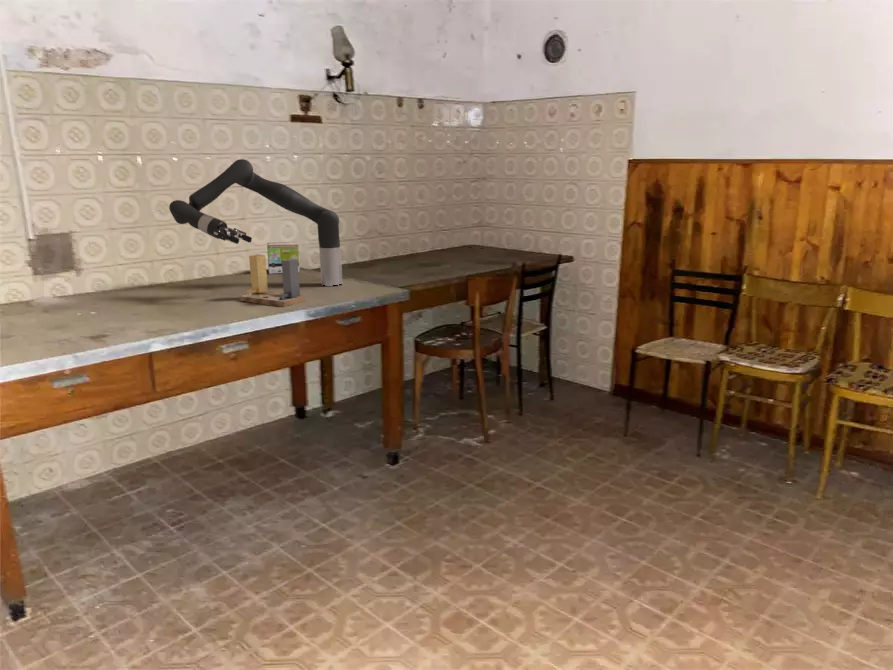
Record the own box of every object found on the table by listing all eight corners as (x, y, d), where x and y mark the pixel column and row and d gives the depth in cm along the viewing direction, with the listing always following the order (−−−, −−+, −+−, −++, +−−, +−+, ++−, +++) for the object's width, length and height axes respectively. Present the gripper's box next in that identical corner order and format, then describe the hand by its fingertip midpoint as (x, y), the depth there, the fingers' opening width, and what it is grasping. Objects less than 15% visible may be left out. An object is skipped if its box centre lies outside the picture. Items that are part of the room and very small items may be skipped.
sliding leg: (244, 294, 276) (241, 257, 272) (260, 290, 284) (257, 254, 280) (251, 295, 274) (248, 257, 270) (267, 291, 282) (265, 254, 278)
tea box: (269, 274, 336) (267, 244, 332) (268, 271, 345) (266, 242, 342) (300, 272, 340) (298, 243, 336) (298, 269, 349) (296, 241, 346)
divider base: (240, 301, 275) (236, 259, 271) (262, 295, 286) (259, 255, 282) (284, 306, 265) (281, 263, 260) (305, 300, 276) (303, 259, 272)
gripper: (203, 218, 271) (236, 233, 267) (225, 217, 284) (257, 231, 280) (199, 235, 273) (232, 250, 269) (221, 234, 286) (252, 248, 283)
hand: (244, 240), depth 275 cm, fingers open, 8 cm apart
